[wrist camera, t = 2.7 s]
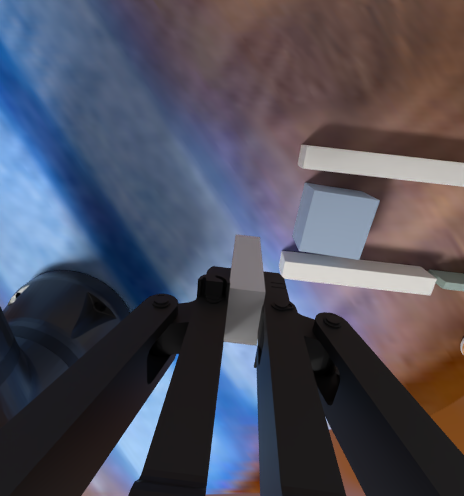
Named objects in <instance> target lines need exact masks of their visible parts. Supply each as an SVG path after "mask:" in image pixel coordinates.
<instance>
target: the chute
mask: <svg viewBox="0 0 464 496" xmlns="http://www.w3.org/2000/svg"><path fill="white" fill-rule="evenodd" d="M298 166H300V167H301V168H303V169H312V170H321V171H329V172H338V173H347V174H356V175H365V176H374V177H382V178H391V179H400V180H409V181H418V182H427V183H436V184H444V185H453V186H462V187H464V163H462V162H453V161H444V160H435V159H426V158H417V157H408V156H400V155H391V154H382V153H373V152H364V151H355V150H346V149H337V148H329V147H320V146H311V145H302V144H301V149H300V154H299V160H298ZM279 269H280V273H281V276H282V277H283V278H284V279H292V280H301V281H309V282H318V283H327V284H335V285H344V286H353V287H362V288H370V289H379V290H388V291H396V292H405V293H414V294H422V295H431V292H432V290H433V288H434V285H435V283H436V281H437V278H435V277H434V276H433V275H431V274H430V273H429V272H427V271H426V270H425V269H423V268H422V267H421V266H412V265H403V264H394V263H386V262H377V261H368V260H356V259H349V258H342V257H333V256H324V255H316V254H307V253H298V252H290V251H282V252H281V257H280V263H279Z"/></svg>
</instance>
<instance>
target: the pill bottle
mask: <svg viewBox="0 0 464 496" xmlns="http://www.w3.org/2000/svg"><path fill="white" fill-rule="evenodd" d="M460 348H461V352H462V353H463V355H464V338H463V339H462V341H461V345H460Z"/></svg>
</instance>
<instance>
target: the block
mask: <svg viewBox="0 0 464 496" xmlns="http://www.w3.org/2000/svg"><path fill="white" fill-rule="evenodd" d="M379 202H380V200H378V199H376V198H374V197H372V196H370V195H368V194H366V193H364V192H362V191H357V190H351V189H344V188H338V187H331V186H325V185H318V184H312V183H306V182H305V185H304V189H303V193H302V198H301V202H300V206H299V210H298V214H297V218H296V223H295V227H294V231H293V235H292V236H293V239H294V241H295V243H296V245H297V248H298V250H299V251H303V252H309V253H316V254H323V255H329V256H336V257H342V258H349V259H356V260H359V259H360V256H361V253H362V250H363V248H364V245H365V242H366V239H367V236H368V233H369V230H370V227H371V225H372V222H373V219H374V216H375V213H376V210H377V207H378V204H379Z"/></svg>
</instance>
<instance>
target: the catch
mask: <svg viewBox="0 0 464 496" xmlns="http://www.w3.org/2000/svg"><path fill="white" fill-rule="evenodd" d="M428 272H429V273H430V274H431V275H433V276H434V277H435V278H437V281H436V284H437V285H439V286H440V287H441V288H443V289H449V290H458V291H464V273H455V272H446V271H438V270H428Z"/></svg>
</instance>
